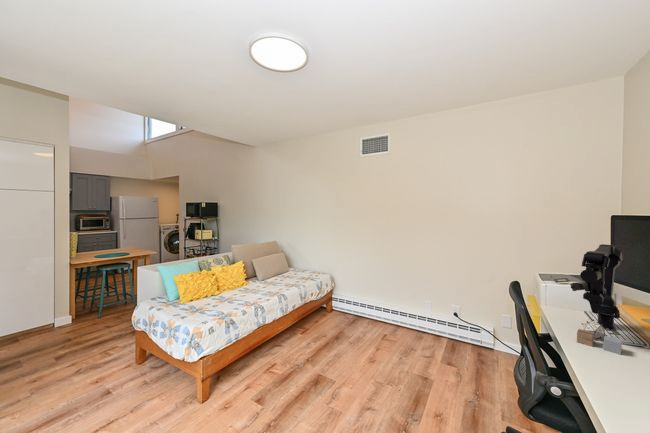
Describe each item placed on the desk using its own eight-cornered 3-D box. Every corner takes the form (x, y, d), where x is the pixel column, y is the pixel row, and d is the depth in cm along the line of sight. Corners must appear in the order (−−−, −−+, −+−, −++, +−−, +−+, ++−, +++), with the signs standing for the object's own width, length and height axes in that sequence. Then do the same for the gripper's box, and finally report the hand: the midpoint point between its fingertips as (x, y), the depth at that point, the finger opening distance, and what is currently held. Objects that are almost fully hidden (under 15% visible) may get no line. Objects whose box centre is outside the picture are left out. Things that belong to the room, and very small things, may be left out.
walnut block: (578, 338, 124) (578, 328, 124) (593, 343, 120) (593, 332, 120) (576, 342, 121) (577, 331, 121) (592, 346, 117) (592, 336, 117)
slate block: (604, 346, 117) (605, 335, 117) (621, 350, 113) (621, 339, 113) (603, 350, 114) (603, 339, 114) (620, 355, 110) (621, 343, 110)
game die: (599, 346, 123) (617, 336, 117) (580, 339, 125) (597, 328, 119) (591, 330, 130) (607, 319, 124) (572, 323, 132) (588, 312, 125)
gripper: (575, 272, 135) (574, 301, 136) (568, 279, 124) (568, 311, 124) (606, 276, 127) (605, 307, 127) (602, 284, 115) (601, 318, 116)
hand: (594, 311), depth 124 cm, fingers open, 5 cm apart
